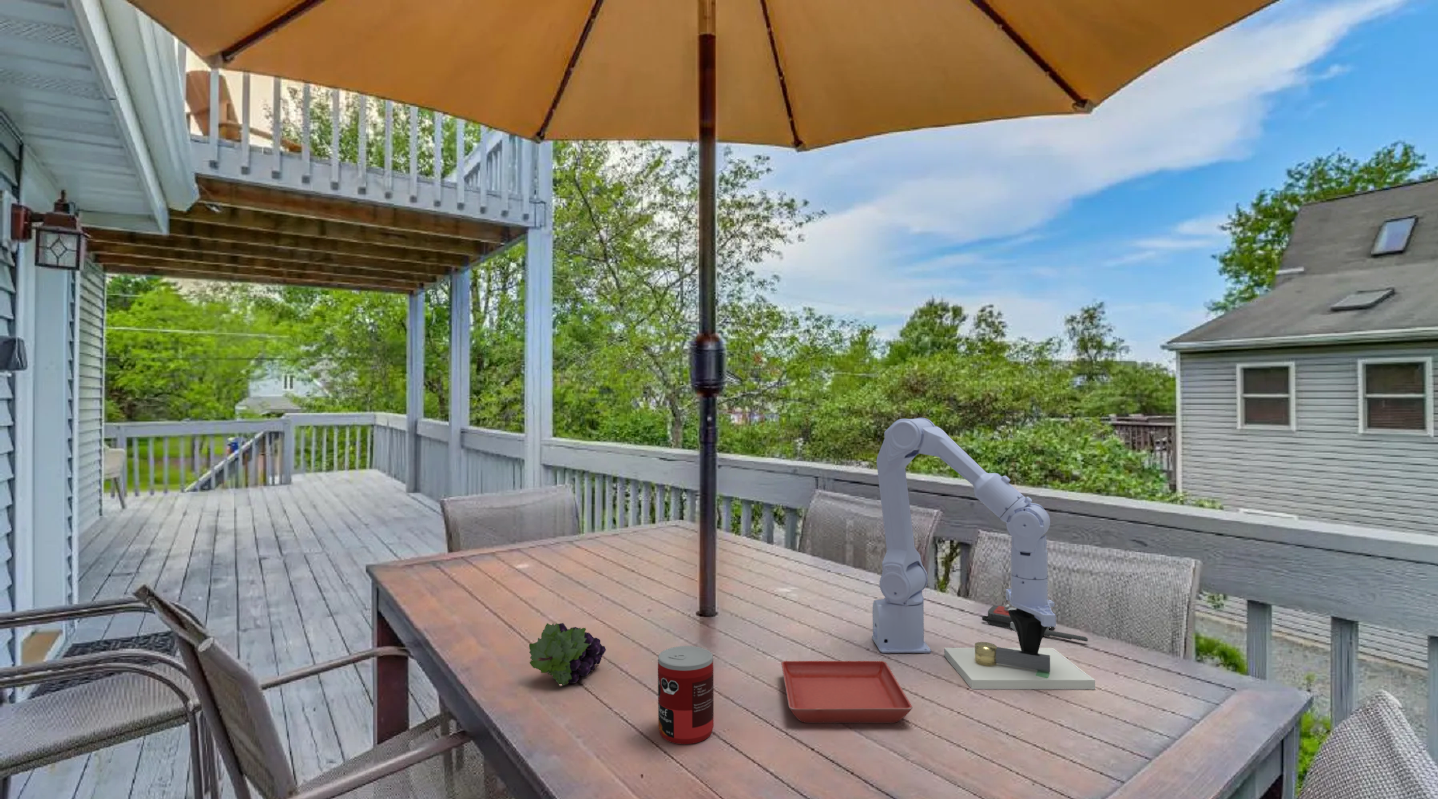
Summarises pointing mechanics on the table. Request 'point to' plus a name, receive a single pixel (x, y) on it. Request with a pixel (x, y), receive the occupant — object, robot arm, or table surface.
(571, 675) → the fruit
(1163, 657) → the table surface
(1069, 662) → the dial board
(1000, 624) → the walkie-talkie
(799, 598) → the table surface
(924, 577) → the robot arm
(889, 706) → the plant saucer
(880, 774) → the table surface
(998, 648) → the dial lever
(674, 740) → the canned food
